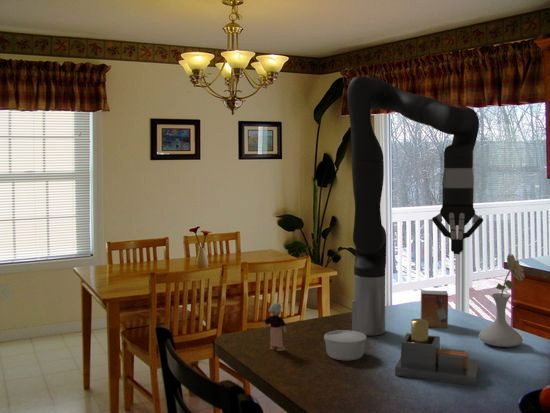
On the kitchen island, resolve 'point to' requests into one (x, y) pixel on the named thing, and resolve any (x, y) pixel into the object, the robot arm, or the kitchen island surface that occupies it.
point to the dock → (434, 363)
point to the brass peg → (419, 331)
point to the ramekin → (345, 344)
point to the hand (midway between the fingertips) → (456, 253)
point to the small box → (435, 308)
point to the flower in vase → (503, 313)
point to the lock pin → (455, 353)
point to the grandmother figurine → (276, 327)
